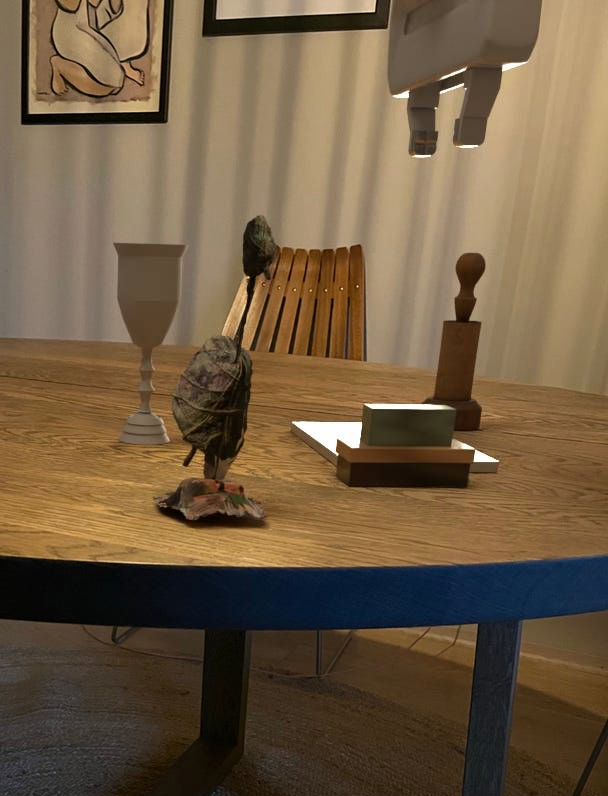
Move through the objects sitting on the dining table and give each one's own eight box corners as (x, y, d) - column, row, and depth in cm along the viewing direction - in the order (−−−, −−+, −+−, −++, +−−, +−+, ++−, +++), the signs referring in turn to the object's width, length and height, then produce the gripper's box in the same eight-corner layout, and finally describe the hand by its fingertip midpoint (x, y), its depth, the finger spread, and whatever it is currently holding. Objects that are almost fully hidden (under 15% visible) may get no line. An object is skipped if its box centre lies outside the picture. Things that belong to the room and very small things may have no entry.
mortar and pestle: (408, 425, 114) (430, 251, 107) (429, 418, 119) (451, 251, 112) (468, 433, 110) (495, 253, 104) (486, 425, 115) (513, 253, 109)
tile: (419, 433, 109) (421, 423, 109) (497, 472, 91) (499, 461, 90) (290, 431, 108) (291, 421, 108) (342, 471, 90) (343, 460, 89)
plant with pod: (253, 493, 81) (273, 218, 74) (273, 531, 70) (299, 214, 63) (150, 490, 81) (160, 214, 73) (154, 528, 70) (166, 210, 63)
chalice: (145, 449, 97) (152, 243, 90) (93, 439, 101) (96, 242, 94) (194, 440, 102) (204, 245, 95) (143, 431, 106) (149, 243, 99)
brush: (450, 476, 89) (461, 403, 87) (470, 487, 85) (482, 411, 82) (332, 475, 88) (339, 401, 86) (346, 487, 84) (354, 410, 82)
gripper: (586, -110, 63) (547, 141, 68) (459, -30, 82) (436, 162, 87) (486, -116, 62) (454, 137, 67) (382, -34, 81) (362, 159, 86)
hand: (443, 151), depth 77 cm, fingers open, 8 cm apart
